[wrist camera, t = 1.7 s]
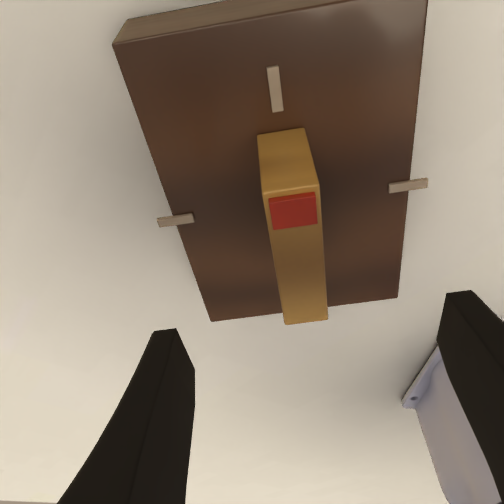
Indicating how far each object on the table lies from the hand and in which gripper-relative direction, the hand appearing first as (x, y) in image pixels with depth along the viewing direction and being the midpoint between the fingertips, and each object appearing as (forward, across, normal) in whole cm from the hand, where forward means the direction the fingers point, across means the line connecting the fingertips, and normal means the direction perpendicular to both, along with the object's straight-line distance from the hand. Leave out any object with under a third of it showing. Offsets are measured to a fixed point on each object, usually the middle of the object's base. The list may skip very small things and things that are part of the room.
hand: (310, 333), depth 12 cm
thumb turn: (+6, 0, 0) cm, 6 cm away
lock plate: (+9, 0, 0) cm, 9 cm away
